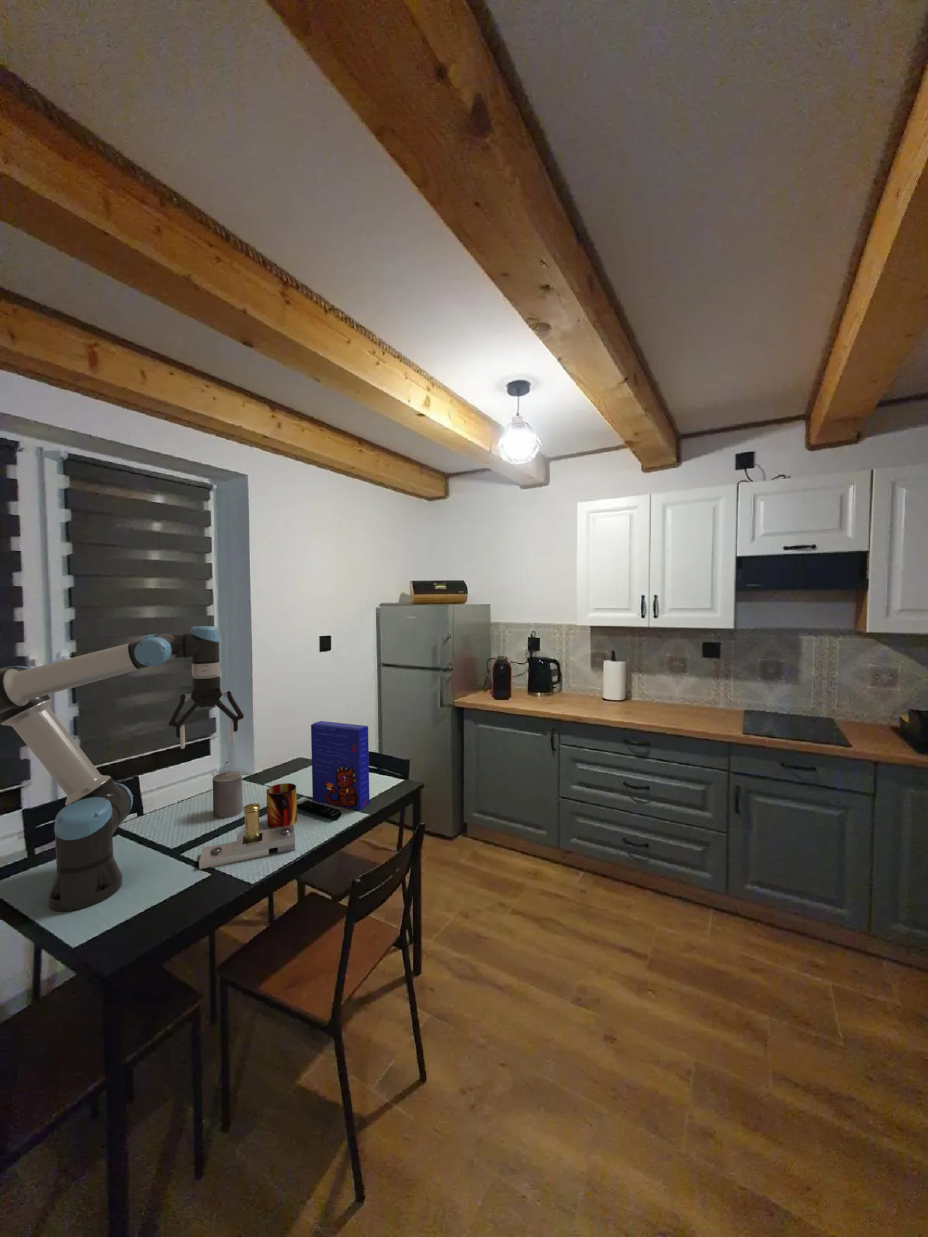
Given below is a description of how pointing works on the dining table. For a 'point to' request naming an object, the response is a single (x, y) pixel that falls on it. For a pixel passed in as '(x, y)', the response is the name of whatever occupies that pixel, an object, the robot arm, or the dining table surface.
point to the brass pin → (251, 823)
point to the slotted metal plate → (248, 847)
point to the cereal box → (340, 764)
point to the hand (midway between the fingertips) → (208, 744)
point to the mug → (281, 805)
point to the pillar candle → (227, 794)
